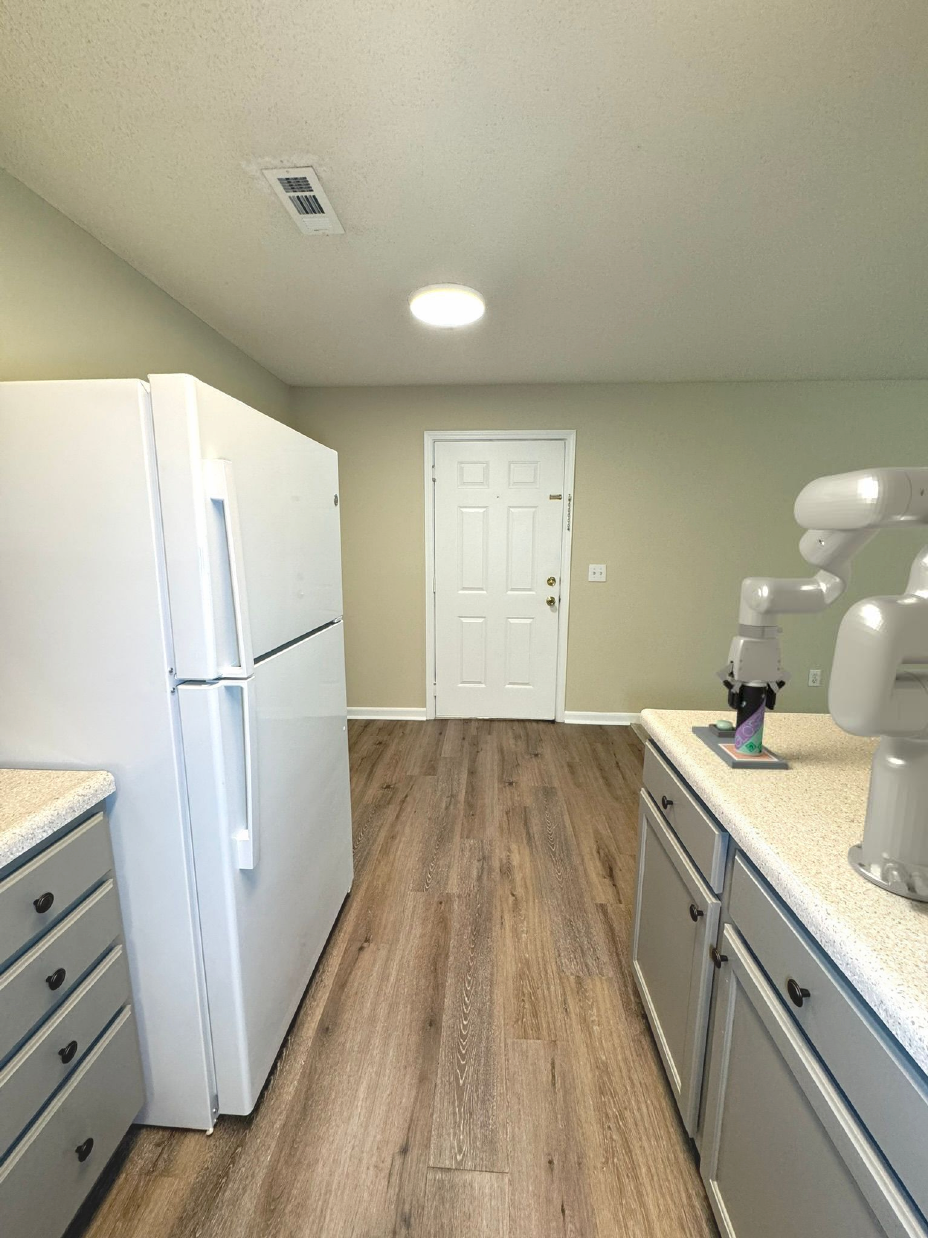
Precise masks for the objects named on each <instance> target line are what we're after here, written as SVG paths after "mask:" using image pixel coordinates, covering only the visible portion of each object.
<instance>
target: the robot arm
mask: <svg viewBox="0 0 928 1238" xmlns="http://www.w3.org/2000/svg"><path fill="white" fill-rule="evenodd" d="M793 515H794V517H795V520H796V522H797V524H798V525H799V526H801V527H802V528H804V529H807V531H806V532H805V533H804V534H803V536H802V537H801V539H800V540H799V544H798V549H799V552H800V554H801V557H803V559H804V560H806V562H807V563H809V564H810V565H812V566H814V567H815V568H817V569H819V571H818V572H817V573H816V574H815V575H814V576H813V577H810V578H809V577H808V578H807V577H803V578H802V577H801V578H800V577H794V578H793V577H792V578H788V577H787V578H783V577H782V578H777V577H769V576H768V577H767V576H750V577H746V578H744V579H743V580H742V582H741V589H740V602H739V603H740V605H739V614H738V615H739V616H738V627H737V628H738V629H737V636H736V635H735V636H733V638H732V642H731V643H730V647H729V648H730V649H729V652H728V656H727V657H728V658H727V664H726V666H723V668H721V669H720V670H718V671H717V672H716V674H715V676H716V678H717V679H718V680H719V681H720V682H721V684H722V685H723V686H724V687H725V688H726V689H727V691H728V692H727V704H728V706H729V708H731V709H733V710H734V711H735V710H736V711H737V709H738V707H739V687H740V686H741V684H742V683H743V682H750V681H754V680H763V681H766V683H767V691H766V703H765V709H768V710H770V711H774V710H775V706H776V703H777V702H776V699H777V694H778V693H780V690H781V689H783V687H784V686H785V685H786V683H788V681H790V680H791V679H792V677H793V675H792V674H791V673H790V672H788V671H787V670H786V669H785V668H783V666H782V652H781V643H780V639H779V638H777V637H778V634H782V633H783V627H781V626H779V625H778V624H779V616H780V615H781V616H782V615H783V616H784V615H785V616H786V615H815V614H819V613H822V612H824V611H825V610H827V609H828V608H830V607H831V606H832V605H833V604H835V603H836V602H837V601H838V600H839V599H841V597H842V596H844V594H845V593H846V591H847V590H848V587H849V586H850V582H851V577H852V565H851V562H850V561H851V560H852V559H853V558H854V557H855V556H856V555H857V554H859V552H860V551H861V550H862V549H863V548H864V547H866V545H867V544H869V543H870V541H871V540H872V539H873V538H875V537H876V536H877V535H878V534H879V533H880V531H882V530H928V466H918V467H917V466H913V467H912V466H911V467H909V466H907V467H905V466H904V467H903V466H901V467H899V466H898V467H896V466H894V467H893V466H892V467H875V468H873V467H872V468H866V469H861V470H853V471H849V472H844V473H843V472H842V473H838V474H833V475H827V476H822V477H818V478H816V479H814V480H812V481H810V482H809V483H808V484H807V485H805V486H804V487H803V489H801V491H800V493H799V494H798V496H797V498H796V499H795V502H794V508H793ZM910 567H911V568H910V573H909V577H908V583H907V586H906V589H905V591H904V593H903V594H902V595H901V594H897V595H893V594H892V595H888V594H887V595H875V596H869V597H865V598H863V599H861V600H859V601H857V602H856V603H853V604H852V606H851V607H849V609H848V610H847V612H846V613H845V614H844V616H843V617H842V620H841V621H840V624H839V627H838V633H837V637H836V642H835V647H834V648H835V649H834V655H833V660H832V665H831V672H830V677H829V684H828V689H827V705H828V706H827V707H828V711H829V714H830V717H831V719H832V721H833V722H834V723H835V725H836V726H837V727H838V728H840V730H842V731H843V732H845V733H847V734H850V735H851V736H856V737H862V738H881V739H880V740H879V742H878V743H877V746H876V748H875V750H874V752H873V757H872V761H871V762H872V763H871V764H872V765H871V771H870V779H869V785H868V794H867V802H866V809H865V810H866V811H865V819H864V826H863V835H862V842H860V843H857V844H853V845H851V846H850V847H849V849H848V851H847V861H848V863H849V865H850V866H851V867H852V868H853V870H854V871H856V873H858V874H859V875H861V876H862V877H863V878H864V879H866V880H868V882H870V883H873V884H874V885H875V886H878V887H879V888H881V889H884V890H887V892H888V891H889V892H891V893H894V894H896V895H899V896H902V897H905V898H908V899H912V900H916V901H921V902H926V903H928V669H925V668H924V669H923V668H922V669H916V668H915V669H912V668H911V669H909V668H908V669H900V665H928V541H927V542H926V543H925V544H924V546H923V547H922V548H921V549H920V551H919V552H918V554H917V555H916V556H915V557H914V560H913V562H912V564H911V566H910ZM727 676H728V677H729V678H731V679H730V680H728V678H727Z"/></svg>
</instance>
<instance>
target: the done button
mask: <svg viewBox="0 0 928 1238" xmlns="http://www.w3.org/2000/svg"><path fill="white" fill-rule="evenodd" d="M716 724H717V727H716V728H717V729H719V730H722V731H732V727H734V726H733V725H734V724H733V722H731V721H730V720H724V719H718V720H717V721H716Z"/></svg>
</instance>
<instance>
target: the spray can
mask: <svg viewBox="0 0 928 1238" xmlns="http://www.w3.org/2000/svg"><path fill="white" fill-rule="evenodd" d="M766 691H767V683H766V681H763V680H754V681H750V682H743V683H742V684H741V686H740V687H739V689H738V693H739V707H738V709H737V710H736V721H735V727H736V733H735V746H734V750H735V752H737V753H739V754H741V755H745V756H750V757H758V756H760V755H761V751H762V745H763V740H764V739H763V738H764V737H763V735H764V728H765V727H764V726H765V725H764V724H765V713H766V707H765V703H766Z"/></svg>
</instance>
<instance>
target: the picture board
mask: <svg viewBox="0 0 928 1238" xmlns="http://www.w3.org/2000/svg"><path fill="white" fill-rule="evenodd" d="M716 727H717V723H709V724H708V726H700V725H699V726H698V725H697V726H696V725H695V726H694V725H693V726H691V733H692V734H694V735H695V734H696V735H695V736H696V737H697V738H698V737H699V738H698V739H699V740H700V739H701V740H702V741H703V742H704V745H706V746H707V748H709V749H710V751H712V752H713V753H714V752H715V753H714V754H715V755H717V757H719V758H720V759H721V760H722V761H723V762H724V763H725V764H726V765H727V766H728V767H729V768H731V769H734V770H735V769H737V770H738V769H739V770H740V769H741V770H743V769H747V770H749V769H750V770H788V763H789V762H787V761H786V760H784V759H783V758H782V757H780V756H779V755H777V754H776V753H774V752H773V751H772V750H771V749H770V748H768V747H767V746H765V745H764V744H762V751H761V755H760V756H758V757H750V756H745V755H741V754H739V753H737V752H735V750H734V746H735V733H736V726H733V727H732V731H722V730H719V729H717V728H716ZM701 740H700V741H701ZM702 741H701V742H702ZM703 742H702V743H703Z"/></svg>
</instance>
